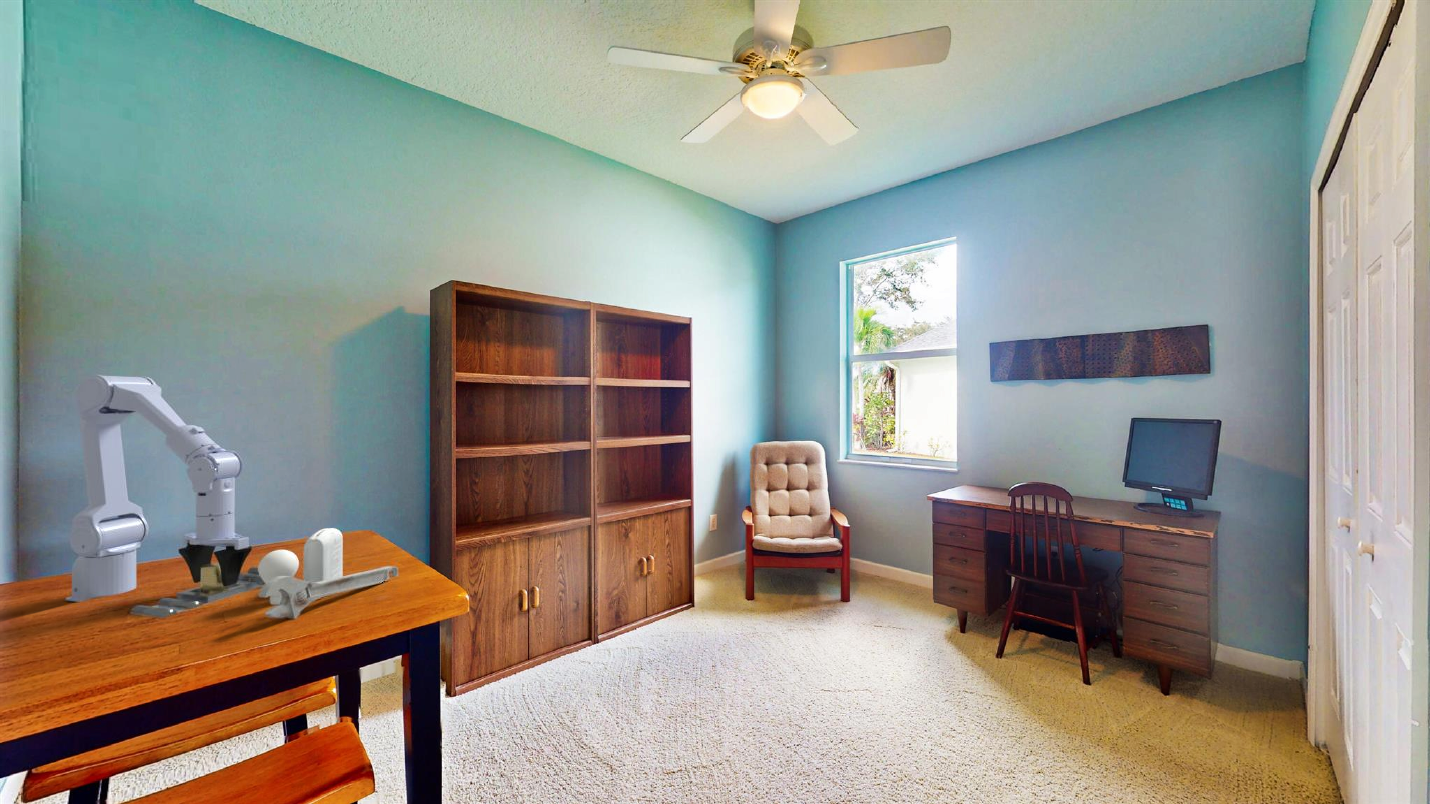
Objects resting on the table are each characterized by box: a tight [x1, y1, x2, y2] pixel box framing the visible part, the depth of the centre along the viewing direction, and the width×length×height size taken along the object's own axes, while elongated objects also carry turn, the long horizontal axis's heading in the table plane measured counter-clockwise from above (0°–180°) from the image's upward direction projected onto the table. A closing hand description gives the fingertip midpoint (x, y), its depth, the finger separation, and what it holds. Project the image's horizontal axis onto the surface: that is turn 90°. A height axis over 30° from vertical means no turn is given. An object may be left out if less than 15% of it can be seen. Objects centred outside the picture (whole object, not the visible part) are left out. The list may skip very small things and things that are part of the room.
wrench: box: [258, 566, 399, 620], centre depth 111 cm, size 8×2×30 cm
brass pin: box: [200, 561, 228, 594], centre depth 111 cm, size 4×4×7 cm
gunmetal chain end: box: [176, 566, 265, 604], centre depth 114 cm, size 8×15×3 cm, turn 166°
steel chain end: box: [130, 591, 247, 619], centre depth 107 cm, size 8×15×2 cm, turn 166°
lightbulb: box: [257, 549, 300, 606], centre depth 107 cm, size 6×6×11 cm
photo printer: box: [302, 527, 344, 583], centre depth 118 cm, size 10×4×12 cm, turn 13°
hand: (215, 582), depth 111 cm, fingers open, 7 cm apart
